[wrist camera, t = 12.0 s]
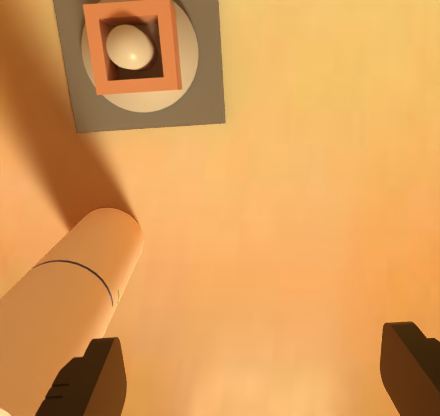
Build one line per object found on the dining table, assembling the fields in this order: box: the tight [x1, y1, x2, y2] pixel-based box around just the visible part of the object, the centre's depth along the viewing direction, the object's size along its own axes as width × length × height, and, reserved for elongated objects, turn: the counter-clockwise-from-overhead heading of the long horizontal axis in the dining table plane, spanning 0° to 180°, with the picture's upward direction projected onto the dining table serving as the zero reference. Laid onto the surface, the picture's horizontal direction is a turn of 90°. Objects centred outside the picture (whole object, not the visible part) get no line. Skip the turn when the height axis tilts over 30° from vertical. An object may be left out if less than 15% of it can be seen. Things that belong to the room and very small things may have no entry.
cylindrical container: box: [0, 208, 144, 416], centre depth 29 cm, size 7×7×25 cm
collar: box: [83, 0, 182, 95], centre depth 31 cm, size 6×6×4 cm
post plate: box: [53, 0, 225, 133], centre depth 31 cm, size 14×13×8 cm
